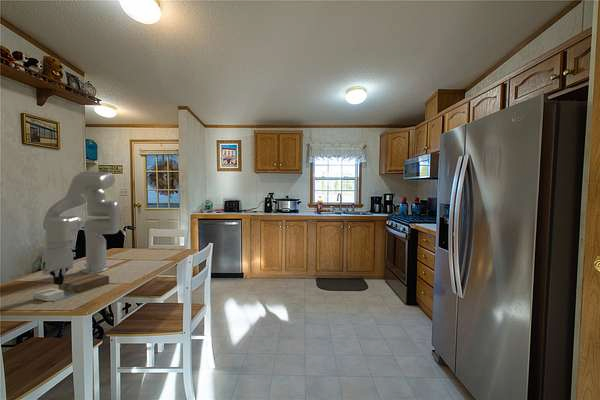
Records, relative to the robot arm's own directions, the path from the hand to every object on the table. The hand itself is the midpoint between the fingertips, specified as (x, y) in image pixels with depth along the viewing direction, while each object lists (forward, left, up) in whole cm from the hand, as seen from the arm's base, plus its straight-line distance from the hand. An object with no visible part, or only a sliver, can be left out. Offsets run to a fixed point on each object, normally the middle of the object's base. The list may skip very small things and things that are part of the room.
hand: (58, 284), depth 115 cm
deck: (0, +11, -5) cm, 12 cm away
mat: (0, -1, -5) cm, 5 cm away
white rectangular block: (0, -4, -2) cm, 4 cm away
